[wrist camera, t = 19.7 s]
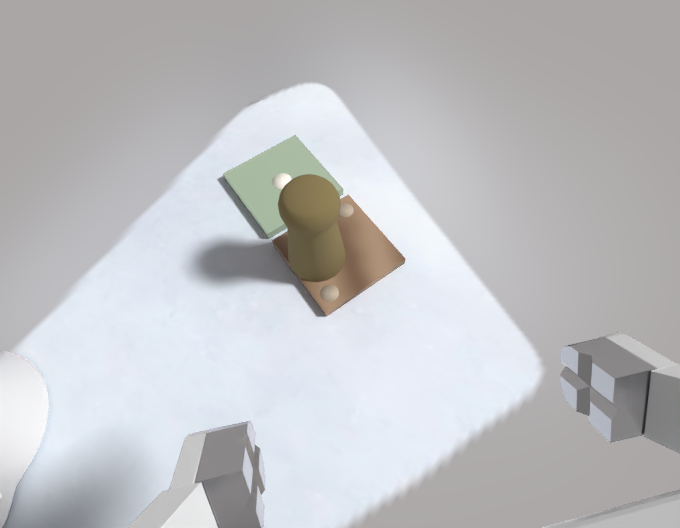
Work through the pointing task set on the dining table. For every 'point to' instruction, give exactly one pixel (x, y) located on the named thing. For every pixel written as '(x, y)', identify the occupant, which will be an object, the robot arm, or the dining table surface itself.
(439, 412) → the dining table surface
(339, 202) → the cork
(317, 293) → the tile two
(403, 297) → the dining table surface
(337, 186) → the tile one
